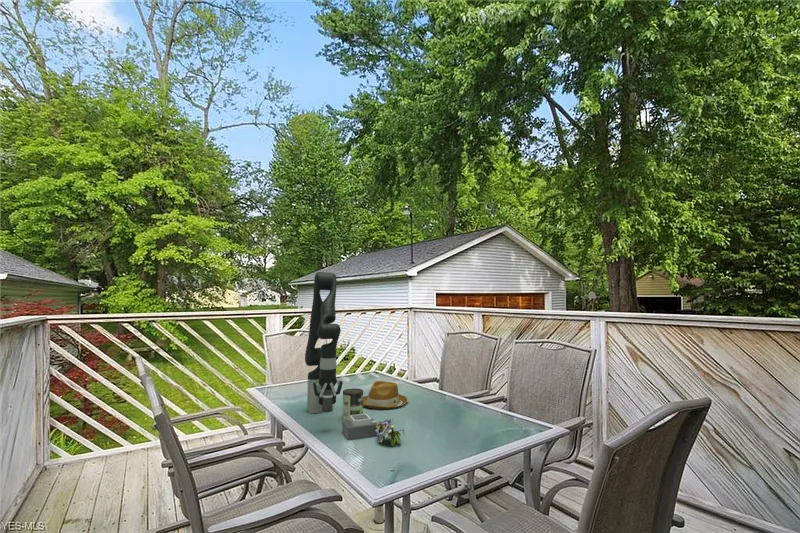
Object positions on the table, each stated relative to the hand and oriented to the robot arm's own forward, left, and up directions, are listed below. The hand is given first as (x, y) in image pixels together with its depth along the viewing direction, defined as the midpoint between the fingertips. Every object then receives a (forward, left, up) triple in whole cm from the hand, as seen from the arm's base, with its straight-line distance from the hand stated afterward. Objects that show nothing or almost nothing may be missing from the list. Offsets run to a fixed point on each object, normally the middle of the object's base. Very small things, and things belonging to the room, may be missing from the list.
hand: (327, 404), depth 182 cm
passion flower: (+22, +22, -12) cm, 34 cm away
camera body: (+9, +13, -12) cm, 20 cm away
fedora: (-33, +39, -13) cm, 53 cm away
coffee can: (-12, +15, -12) cm, 23 cm away
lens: (0, 0, -3) cm, 3 cm away
